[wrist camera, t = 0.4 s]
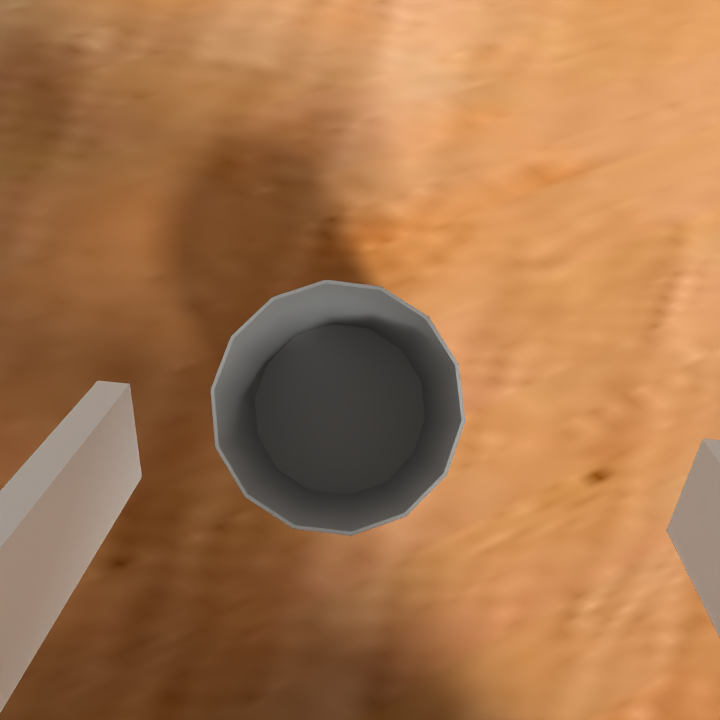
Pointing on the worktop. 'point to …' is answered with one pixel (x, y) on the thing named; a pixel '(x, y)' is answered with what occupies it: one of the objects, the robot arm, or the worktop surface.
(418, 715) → the worktop surface
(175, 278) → the worktop surface
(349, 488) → the cup
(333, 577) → the worktop surface
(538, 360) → the worktop surface
